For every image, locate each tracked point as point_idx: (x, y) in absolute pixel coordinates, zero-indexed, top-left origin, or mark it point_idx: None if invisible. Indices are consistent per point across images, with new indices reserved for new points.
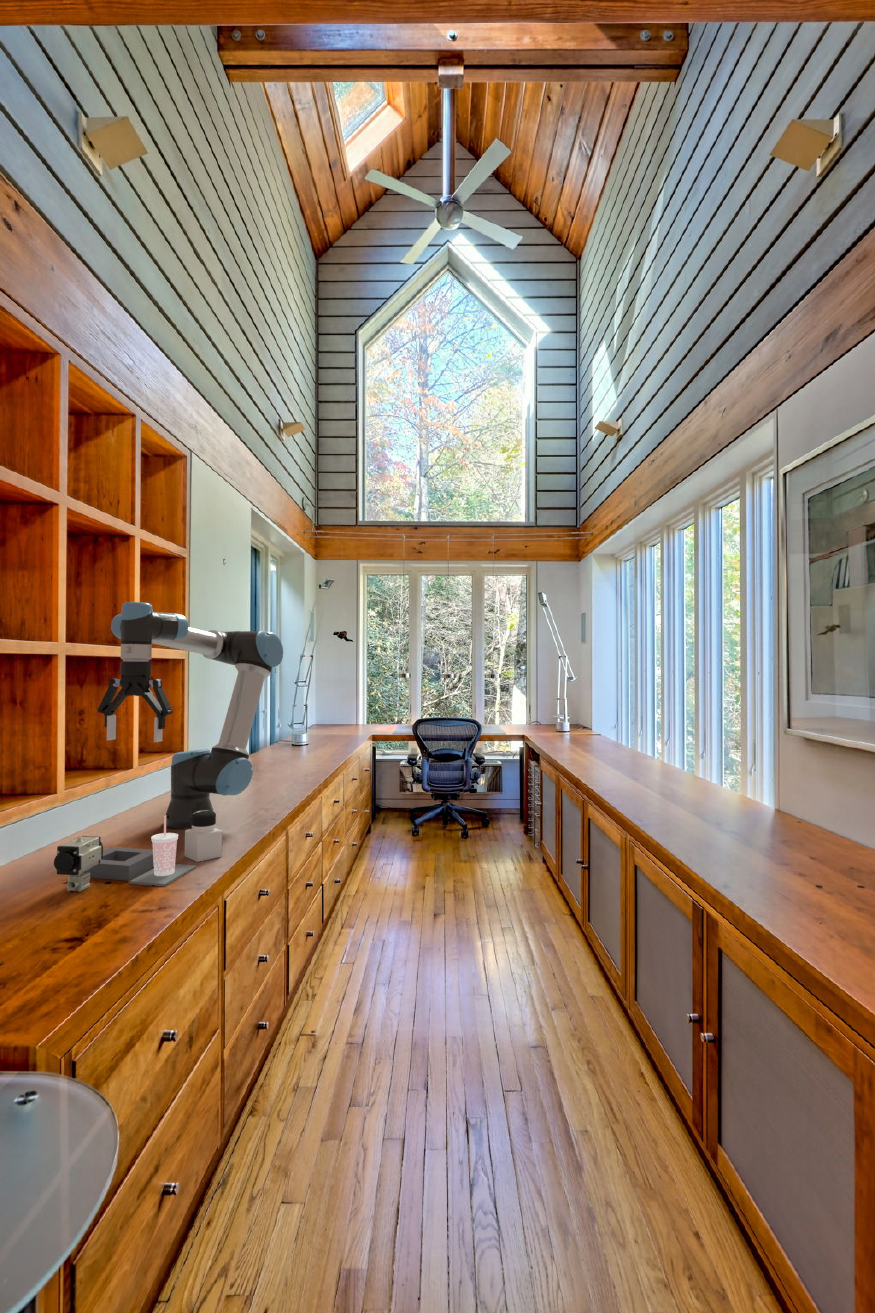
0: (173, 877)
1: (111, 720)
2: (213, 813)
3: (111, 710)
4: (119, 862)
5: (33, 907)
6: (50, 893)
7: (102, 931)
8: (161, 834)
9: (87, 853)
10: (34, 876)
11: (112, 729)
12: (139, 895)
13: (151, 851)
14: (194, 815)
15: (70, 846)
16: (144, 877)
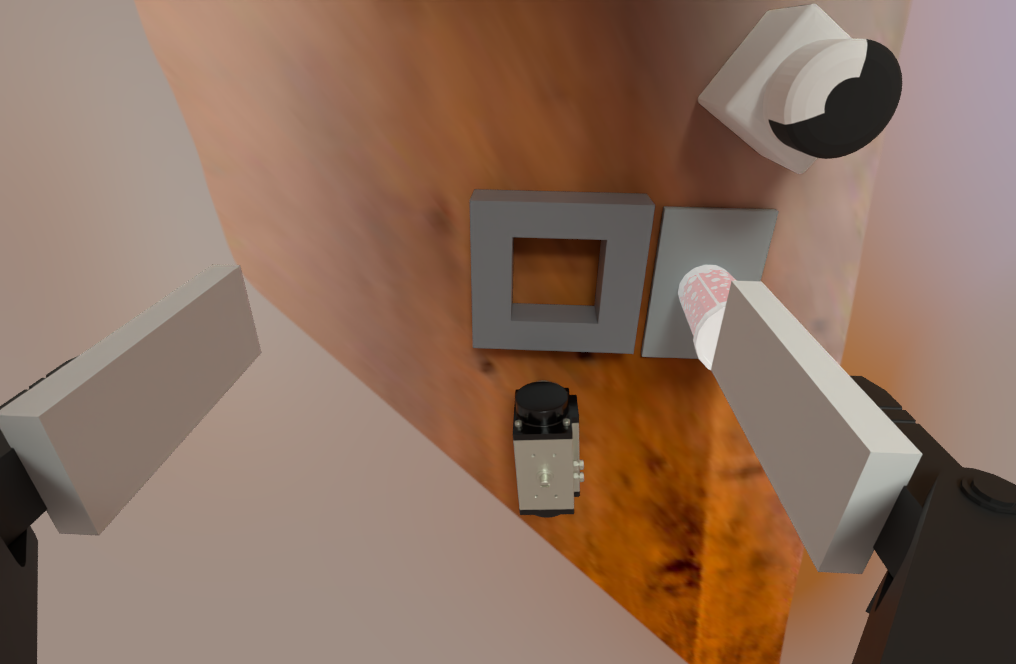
0: None
1: (133, 455)
2: (896, 98)
3: (27, 583)
4: (591, 334)
5: None
6: (500, 424)
7: (709, 542)
8: (716, 319)
9: (579, 472)
10: (377, 342)
11: (195, 366)
12: (699, 409)
13: (631, 223)
14: (806, 148)
15: (552, 511)
16: (666, 327)
